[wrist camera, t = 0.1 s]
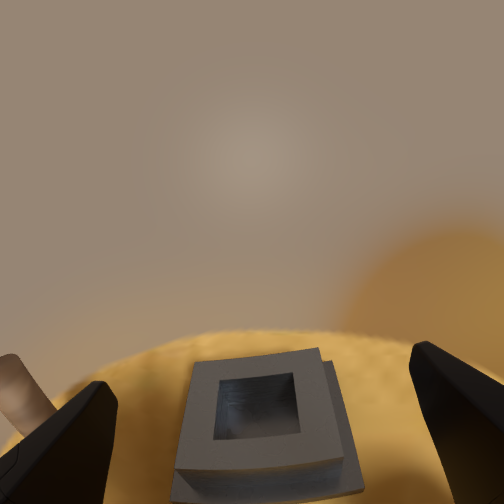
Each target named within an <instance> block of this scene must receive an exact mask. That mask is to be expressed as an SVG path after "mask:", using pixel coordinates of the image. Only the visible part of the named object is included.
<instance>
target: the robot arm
mask: <svg viewBox="0 0 504 504" xmlns="http://www.w3.org/2000/svg"><path fill="white" fill-rule="evenodd" d="M409 371H410V375H411V378H412V381H413V384H414V388H415V391H416V394H417V398H418V401H419V405H420V408H421V411H422V414H423V417H424V420H425V422H426V425H427V427H428V430H429V432H430V435H431V437H432V440H433V442H434V445H435V447H436V450H437V453H438V455H439V458H440V461H441V463H442V466H443V469H444V472H445V475H446V477H447V480H448V483H449V486H450V489H451V492H452V495H453V499H454V502H455V504H504V385H502V384H501V383H499V382H497V381H495V380H494V379H492V378H490V377H489V376H487V375H485V374H484V373H482V372H480V371H478V370H477V369H475V368H473V367H472V366H470V365H468V364H467V363H465V362H463V361H461V360H460V359H458V358H456V357H455V356H453V355H451V354H449V353H448V352H446V351H444V350H442V349H441V348H439V347H437V346H436V345H434V344H432V343H430V342H428V341H423V342H419V343H416V344H414V346H413V348H412V353H411V357H410V362H409ZM117 409H118V401H117V398H116V396H115V395H114V393H113V392H112V390H111V389H110V387H109V386H108V384H107V383H106V382H104V381H93V382H91V383H90V384H89V385H88V386H87V387H85V388H84V389H83V390H82V391H81V392H79V393H78V394H77V395H76V396H75V397H73V398H72V399H71V400H70V401H68V402H67V403H66V404H65V405H64V406H62V407H61V408H60V409H59V410H58V411H56V412H55V413H54V414H53V415H52V416H50V417H49V418H48V419H47V420H46V421H44V422H43V423H42V424H41V425H40V426H38V427H37V428H36V429H35V430H34V431H32V432H31V433H30V434H29V435H28V436H26V437H25V438H24V439H23V440H22V441H20V443H18V444H17V445H16V446H14V447H13V448H12V449H11V450H9V451H8V452H7V453H6V454H4V455H3V456H2V457H0V504H103V500H104V493H105V487H106V482H107V476H108V471H109V465H110V460H111V455H112V450H113V444H114V436H115V426H116V417H117Z"/></svg>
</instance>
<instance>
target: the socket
mask: <svg viewBox="0 0 504 504" xmlns="http://www.w3.org/2000/svg"><path fill="white" fill-rule="evenodd" d="M174 469H175V471H174V477H173V483H172V489H171V495H170V502H171V503H173V504H299V503H307V502H314V501H320V500H326V499H332V498H337V497H342V496H347V495H351V494H356V493H360V492H363V491H364V488H365V486H364V482H363V478H362V473H361V469H360V465H359V461H358V456H357V452H356V448H355V444H354V440H353V436H352V432H351V428H350V424H349V420H348V417H347V413H346V409H345V405H344V402H343V398H342V394H341V390H340V387H339V383H338V380H337V376H336V372H335V369H334V365H333V362H332V360H331V361H326V362H322V359H321V355H320V351H319V347H317V348H311V349H305V350H299V351H292V352H285V353H278V354H271V355H263V356H255V357H246V358H236V359H226V360H215V361H203V362H195V364H194V368H193V373H192V378H191V383H190V388H189V393H188V398H187V402H186V407H185V413H184V418H183V423H182V428H181V433H180V438H179V444H178V449H177V455H176V460H175V466H174Z"/></svg>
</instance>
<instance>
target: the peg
mask: <svg viewBox="0 0 504 504" xmlns="http://www.w3.org/2000/svg"><path fill="white" fill-rule="evenodd" d="M0 411H1V412H2V413H3V414H4V416H5V417H6V418H7V419H8V420H9V421H10V422H11V423H12V425H13V426H14V427H15V428H16V429H17V430H18V431H19V432H20V433H21V434H22V435H23V436H24V437H26V436H28V435H29V434H30V433H31V432H32V431H34V430H35V429H36V428H37V427H38V426H40V425H41V424H42V423H43V422H44V421H46V420H47V419H48V418H49V417H50V416H52V415H53V414H54V413H55V412H56V411H58V410H57V409H56V408H55V407H54V406H53V404H52V403H51V402H50V400H49V399H48V398H47V397H46V395H45V394H44V393H43V391H42V390H41V389H40V387H39V386H38V384H37V383H36V382H35V380H34V379H33V378H32V376H31V375H30V373H29V372H28V370H27V369H26V367H25V366H24V364H23V363H22V361H21V360H20V358H19V357H18V356H17V355H15V354H7V355H4V356H1V357H0Z"/></svg>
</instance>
